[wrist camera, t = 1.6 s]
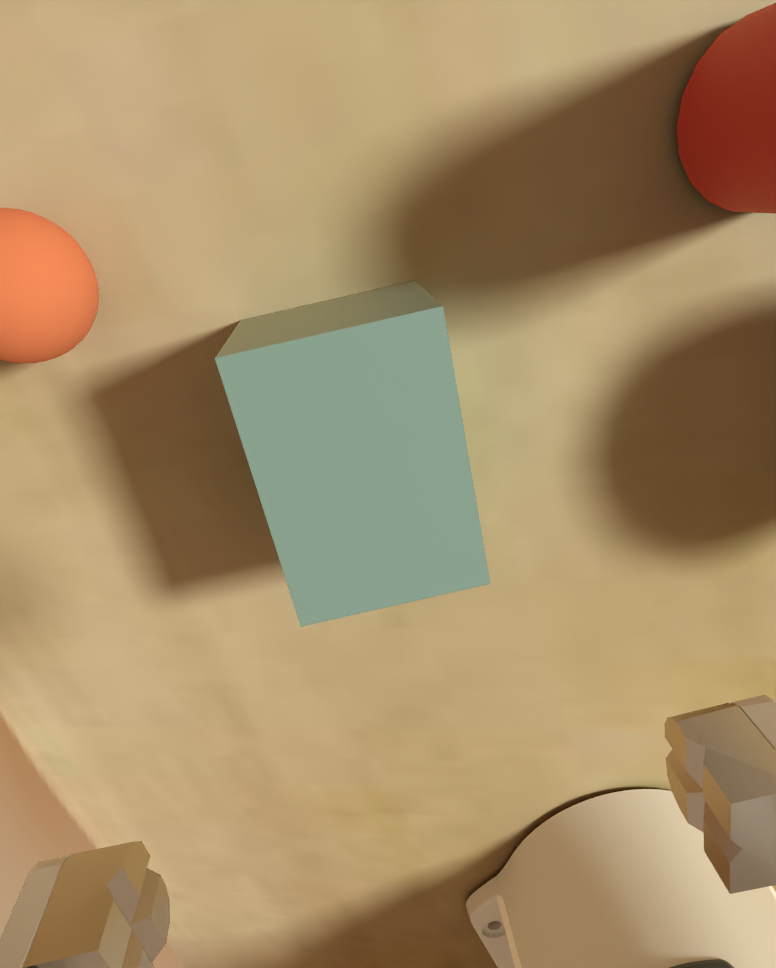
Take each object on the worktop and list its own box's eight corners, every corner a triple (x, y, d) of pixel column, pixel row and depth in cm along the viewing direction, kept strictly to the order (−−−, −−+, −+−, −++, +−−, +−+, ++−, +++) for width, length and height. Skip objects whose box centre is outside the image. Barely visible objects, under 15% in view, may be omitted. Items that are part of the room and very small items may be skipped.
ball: (135, 330, 26) (95, 359, 21) (10, 359, 26) (-58, 394, 21) (85, 192, 24) (28, 191, 19) (-51, 223, 24) (-141, 230, 19)
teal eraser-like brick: (457, 505, 30) (490, 583, 24) (305, 540, 30) (300, 626, 24) (415, 280, 26) (442, 305, 20) (240, 320, 26) (214, 358, 20)
